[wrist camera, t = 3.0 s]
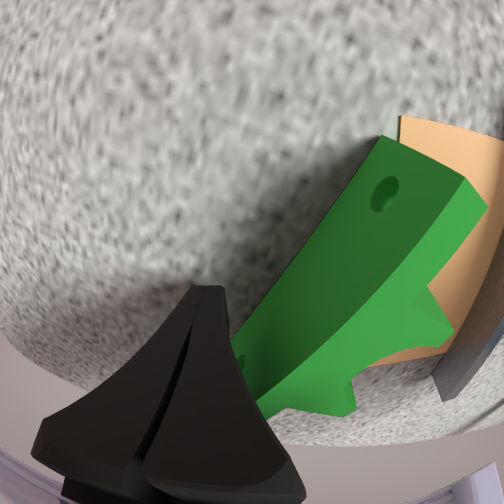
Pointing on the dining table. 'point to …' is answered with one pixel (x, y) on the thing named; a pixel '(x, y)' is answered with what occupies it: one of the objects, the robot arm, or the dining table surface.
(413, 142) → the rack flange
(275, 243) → the dining table surface
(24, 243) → the dining table surface
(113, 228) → the dining table surface
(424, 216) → the pipe clamp
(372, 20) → the dining table surface
